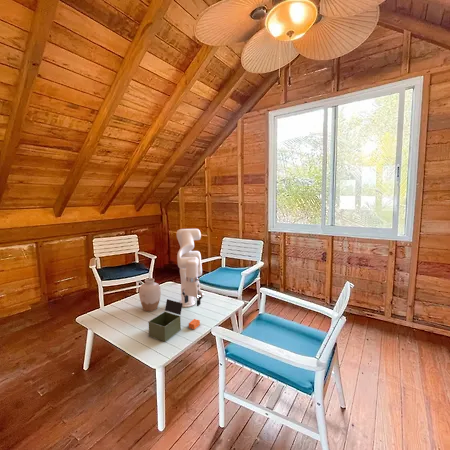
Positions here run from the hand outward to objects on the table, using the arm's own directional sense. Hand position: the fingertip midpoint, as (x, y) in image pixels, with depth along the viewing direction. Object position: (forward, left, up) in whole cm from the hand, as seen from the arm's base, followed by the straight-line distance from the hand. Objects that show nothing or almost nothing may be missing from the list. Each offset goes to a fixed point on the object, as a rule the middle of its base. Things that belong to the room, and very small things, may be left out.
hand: (192, 303), depth 165 cm
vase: (-5, -43, -16) cm, 46 cm away
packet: (0, +1, -16) cm, 16 cm away
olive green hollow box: (+15, -11, -16) cm, 24 cm away
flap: (+6, -11, -2) cm, 13 cm away
